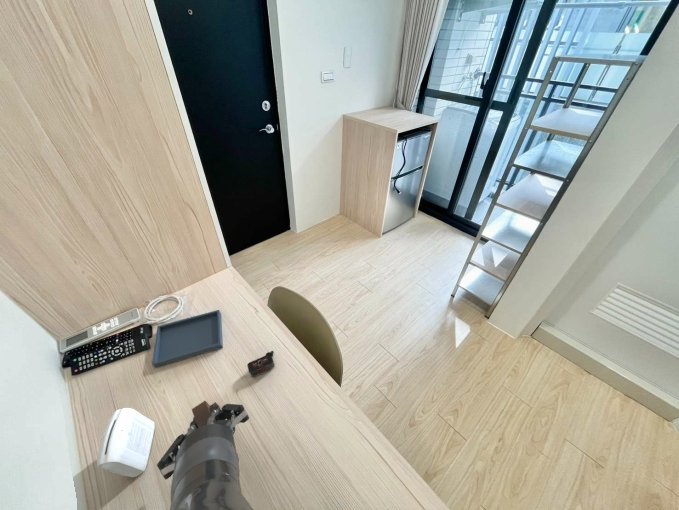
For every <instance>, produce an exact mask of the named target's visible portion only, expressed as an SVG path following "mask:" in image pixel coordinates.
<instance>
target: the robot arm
mask: <svg viewBox="0 0 679 510" xmlns="http://www.w3.org/2000/svg"><path fill="white" fill-rule="evenodd" d="M212 404H213V403H212ZM212 404H210V405H211V406H210V414H211V416H210V417H209V418H208V421H207V425H204V426H201V427H199V428H198V426H197V424H196V421H195V418H194V416H193V417H192V421H191V422H190V423H189V427H188V429H186V430H187V432H186V433H185V434H184V433H181V434H179V435H178V436H177V437H176V438H175V439H174V441H173V442H172V443H171V444H170V446H169V447H168V449H167V450H166V452H164V454H163V455H162V457H161V458H160V459H159V461H158V462H157V464H156V466H157V468H158V470H159V473H160V474H161V475H162V477H163V478H164V480H168V479H169V478H171V477H172V479H171V484H170V485H171V486H170V505H169V510H255V509H254V508H253V507H252V505H251V504H250V502H249V500H247V499H246V497H245V496H244V495H243V492H242V487H241V480H240V464H239V461H240V459H239V454H238V453H237V448H236V443H235V438H234V436H235V435H234V434H235V432H236V426H237V425H240V424H244V423H246V422H248V421H249V420H250V416H249V415H248V412H247V411H246V409H245V407H244V405H243V404H239V403H238V404H236V403H226V404H224V405H223V406H220V405H219V404H218V405H216V406H215V405H214V404H213V405H212ZM219 406H220V407H219Z"/></svg>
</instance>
